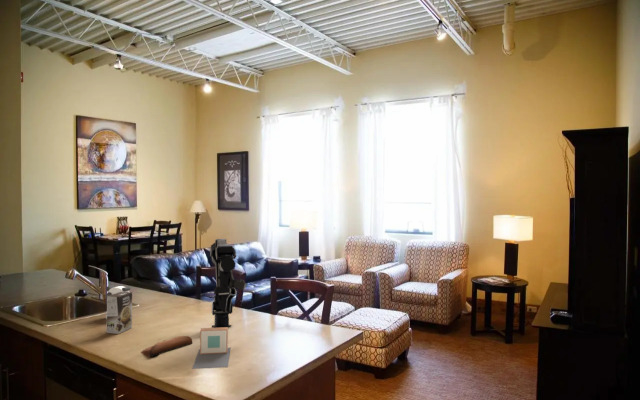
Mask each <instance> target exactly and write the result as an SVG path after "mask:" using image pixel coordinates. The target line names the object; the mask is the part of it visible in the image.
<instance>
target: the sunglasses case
mask: <svg viewBox="0 0 640 400" xmlns="http://www.w3.org/2000/svg"><path fill="white" fill-rule="evenodd" d="M191 344H193V338H192V337H191V336H189V335H181V336H180V335H179V336H175V337H172V338H170V339H165V340H163V341H160V342H159V341H158V342H157V343H155V344H154V345H151V346H148V347H147V348H145V349H143V350H142V351H141V352H140V354H142V355H144V356H147V357H149V358H150V359H151V358H153V357H155V356H158V355H160V354H163V353H165V352H168V351H172V350H176V349H177V348H181V347H182V348H183V347H185V346H187V345H189V346H190V345H191Z"/></svg>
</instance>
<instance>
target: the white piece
mask: <svg viewBox="0 0 640 400" xmlns="http://www.w3.org/2000/svg"><path fill="white" fill-rule="evenodd" d="M130 290H131V287H130V286H123V285H120V286H119V285H118V286H115V285H114V284H113V285H108V286H106V288H105V291H106V292H107V293H106V295H105V298H106V301H107V296H109V295H112V294H115V293H119V292H130ZM105 319H106V320H107V316H105Z"/></svg>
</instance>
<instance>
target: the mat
mask: <svg viewBox="0 0 640 400" xmlns="http://www.w3.org/2000/svg"><path fill="white" fill-rule="evenodd" d="M231 349H232V347H228V352H227V353H216V354H200V348H199V349H198V352H197V354H196V357H195V360H194V362H193V365H192V368H191V369H192V370H193V369H194V370H196V369H197V370H199V369H201V370H202V369H219V368H229V362H230V357H231V356H230V355H231Z"/></svg>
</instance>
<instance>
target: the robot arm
mask: <svg viewBox="0 0 640 400" xmlns="http://www.w3.org/2000/svg"><path fill="white" fill-rule="evenodd" d="M209 254H210V257H211V262H212V263H213V265H214V266H215V280H216V281H215V283H216V287H214V290H213V293H214V294H213V295H214V297H213V301H212V305H211V314H212V316H214V324H213V325H211V328H219V327H228V328H231V327H232V324H230V315H232V314H233V307H234V303H233V299H234V298H235V297H236V296H237V289H239V290H241V291H245V289H246V287H247V282H245V280H244V279H240V280H237V279H235V277H234V276H233V270H234V269H235V267H236V262H235V260H236V258H237V251H236V249H235V246H234V245H233V244H229V243H228V242H227V238H226V239H225V238H216V239H215V240H214V242H213V243H212V244H211V245H210V252H209Z"/></svg>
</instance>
